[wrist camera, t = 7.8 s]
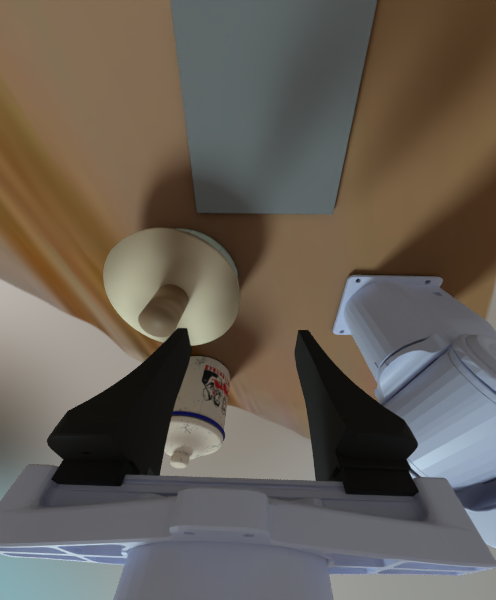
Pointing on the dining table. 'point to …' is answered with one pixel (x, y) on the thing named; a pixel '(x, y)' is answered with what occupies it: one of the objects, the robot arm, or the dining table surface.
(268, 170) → the mat
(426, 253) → the dining table surface
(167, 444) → the teacup with lid
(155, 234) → the lid
